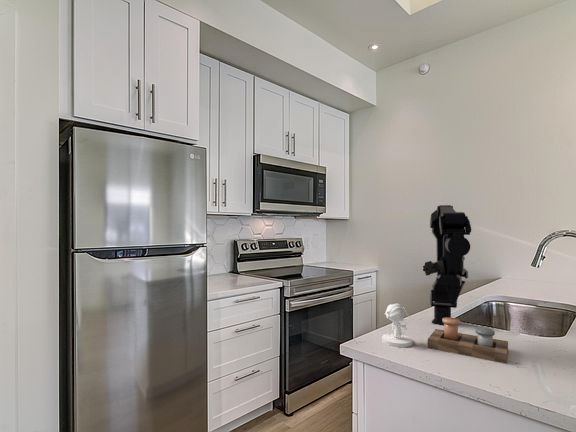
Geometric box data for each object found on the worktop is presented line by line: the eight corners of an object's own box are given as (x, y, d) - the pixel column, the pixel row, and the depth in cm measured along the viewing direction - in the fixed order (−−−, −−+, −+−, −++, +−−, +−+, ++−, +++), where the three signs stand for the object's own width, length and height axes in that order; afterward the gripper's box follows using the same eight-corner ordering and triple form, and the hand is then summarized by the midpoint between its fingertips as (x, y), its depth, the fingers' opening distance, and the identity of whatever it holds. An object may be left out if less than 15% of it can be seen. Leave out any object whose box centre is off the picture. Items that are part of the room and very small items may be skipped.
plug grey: (476, 346, 103) (476, 326, 103) (495, 349, 100) (495, 329, 100) (474, 351, 99) (474, 331, 99) (494, 354, 96) (494, 334, 96)
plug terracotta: (443, 335, 108) (443, 316, 108) (460, 338, 105) (460, 319, 105) (440, 339, 104) (441, 320, 104) (458, 342, 101) (458, 323, 101)
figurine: (419, 344, 105) (419, 305, 105) (394, 348, 102) (394, 308, 102) (399, 335, 113) (399, 299, 114) (376, 338, 110) (376, 301, 110)
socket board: (435, 336, 112) (435, 328, 112) (508, 349, 101) (508, 341, 101) (427, 347, 103) (427, 339, 103) (506, 363, 91) (506, 354, 91)
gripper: (431, 249, 117) (431, 295, 117) (418, 254, 102) (417, 306, 102) (468, 251, 111) (468, 300, 111) (459, 256, 95) (459, 312, 95)
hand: (453, 304), depth 105 cm, fingers closed
